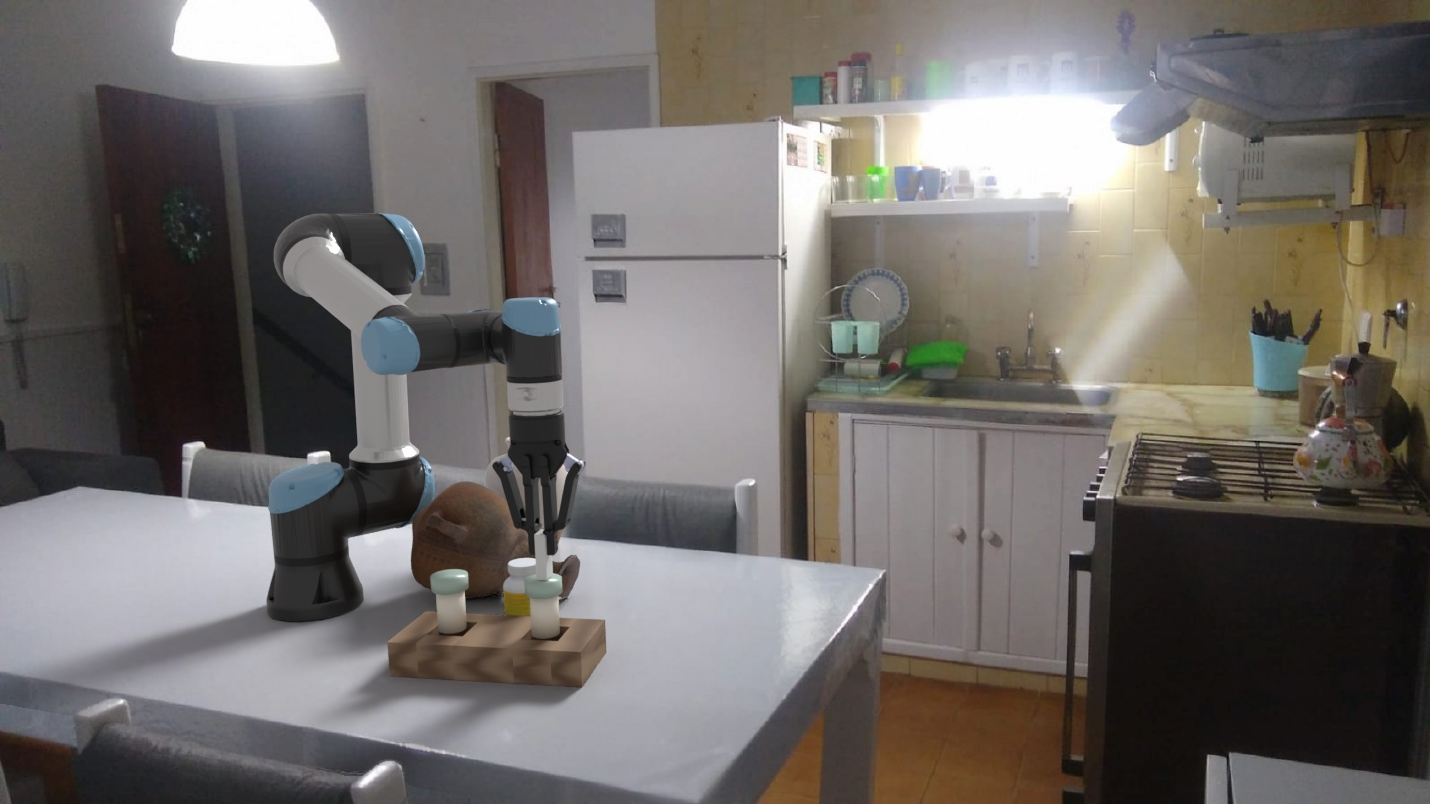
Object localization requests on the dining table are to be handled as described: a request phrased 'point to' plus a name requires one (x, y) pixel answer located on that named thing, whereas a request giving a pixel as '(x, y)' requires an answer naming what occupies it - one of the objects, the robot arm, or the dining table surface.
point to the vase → (495, 485)
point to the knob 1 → (450, 599)
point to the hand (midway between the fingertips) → (544, 576)
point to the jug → (474, 541)
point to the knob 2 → (544, 605)
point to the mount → (498, 651)
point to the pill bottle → (518, 586)
